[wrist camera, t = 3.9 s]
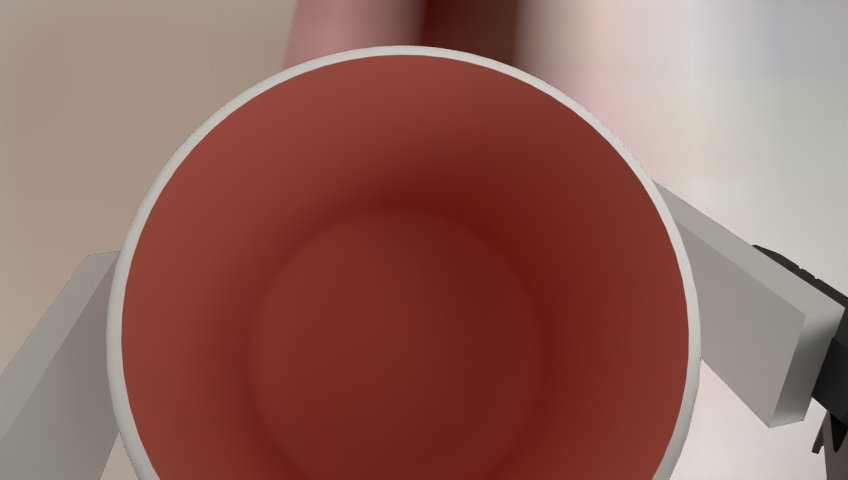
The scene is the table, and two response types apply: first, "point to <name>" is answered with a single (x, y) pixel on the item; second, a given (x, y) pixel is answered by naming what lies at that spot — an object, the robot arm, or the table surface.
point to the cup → (403, 286)
